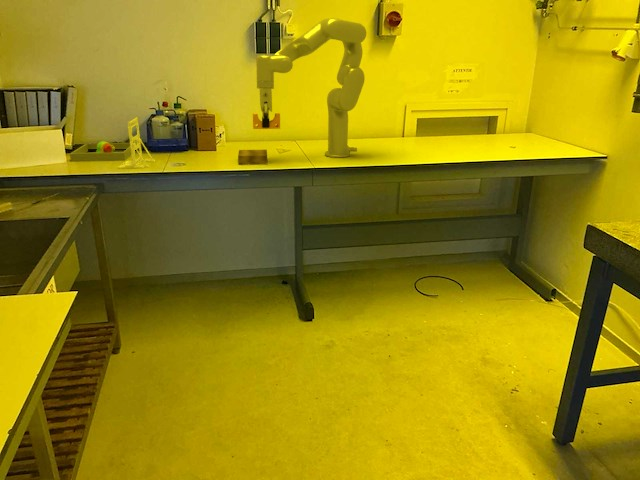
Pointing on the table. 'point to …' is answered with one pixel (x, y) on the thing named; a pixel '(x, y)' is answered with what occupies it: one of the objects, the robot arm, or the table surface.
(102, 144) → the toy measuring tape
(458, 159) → the table surface
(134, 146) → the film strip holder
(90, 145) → the grey square tray
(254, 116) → the pipe clamp
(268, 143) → the table surface
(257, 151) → the walnut block
